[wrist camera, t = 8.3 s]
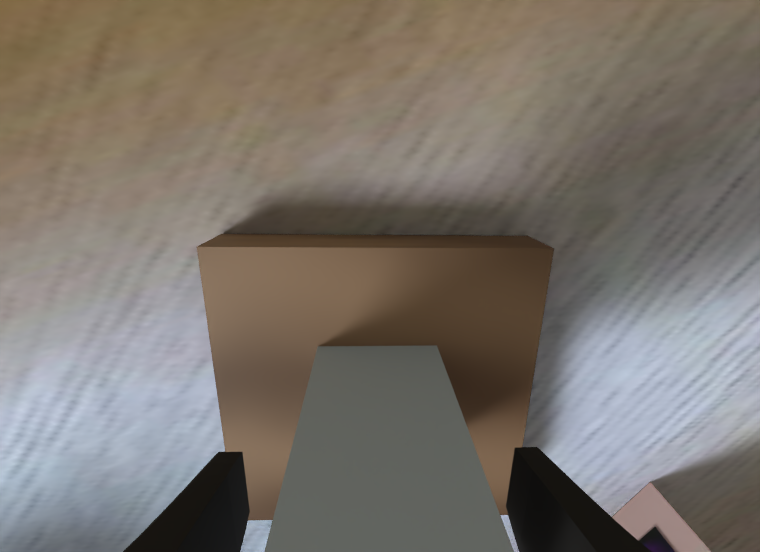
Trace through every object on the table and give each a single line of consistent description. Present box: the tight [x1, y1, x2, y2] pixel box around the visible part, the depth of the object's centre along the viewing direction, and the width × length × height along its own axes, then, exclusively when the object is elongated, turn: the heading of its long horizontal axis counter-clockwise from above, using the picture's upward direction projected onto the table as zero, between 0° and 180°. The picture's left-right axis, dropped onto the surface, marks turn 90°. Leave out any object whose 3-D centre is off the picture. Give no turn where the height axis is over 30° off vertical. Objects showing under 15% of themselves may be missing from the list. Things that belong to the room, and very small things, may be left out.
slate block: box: [265, 345, 514, 552], centre depth 10 cm, size 4×4×7 cm
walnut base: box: [197, 234, 554, 520], centre depth 14 cm, size 11×11×2 cm
